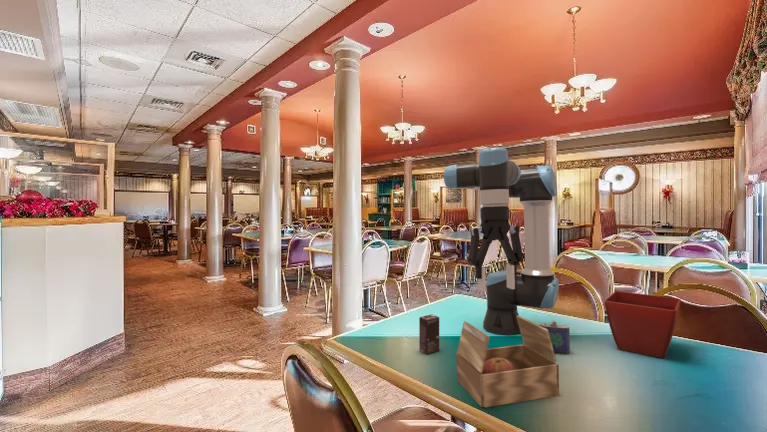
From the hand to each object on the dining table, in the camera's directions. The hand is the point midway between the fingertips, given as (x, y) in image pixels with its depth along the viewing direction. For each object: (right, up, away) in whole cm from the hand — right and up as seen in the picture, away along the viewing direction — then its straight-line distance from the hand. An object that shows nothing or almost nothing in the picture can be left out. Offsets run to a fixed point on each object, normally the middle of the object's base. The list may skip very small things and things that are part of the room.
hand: (496, 289), depth 98 cm
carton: (+3, -27, +1) cm, 27 cm away
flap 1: (-8, -19, -2) cm, 21 cm away
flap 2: (+13, -18, +3) cm, 23 cm away
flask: (+27, -26, +24) cm, 45 cm away
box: (-15, -27, +28) cm, 42 cm away
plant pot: (+58, -25, +25) cm, 68 cm away
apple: (+1, -27, 0) cm, 28 cm away
